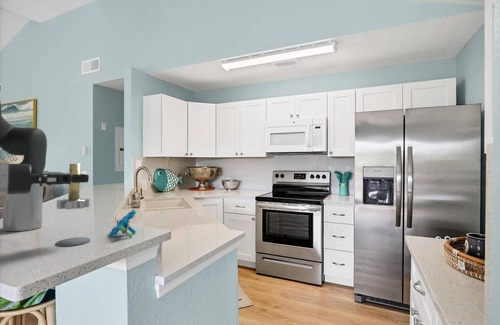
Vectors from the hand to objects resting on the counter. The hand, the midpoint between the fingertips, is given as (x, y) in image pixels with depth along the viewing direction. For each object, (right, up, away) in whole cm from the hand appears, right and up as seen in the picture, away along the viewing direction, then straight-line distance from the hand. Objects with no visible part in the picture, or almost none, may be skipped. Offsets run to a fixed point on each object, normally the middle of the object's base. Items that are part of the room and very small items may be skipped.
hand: (86, 178), depth 78 cm
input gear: (-2, -8, -2) cm, 9 cm away
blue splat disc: (+7, -18, +6) cm, 21 cm away
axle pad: (-2, -18, -2) cm, 18 cm away
